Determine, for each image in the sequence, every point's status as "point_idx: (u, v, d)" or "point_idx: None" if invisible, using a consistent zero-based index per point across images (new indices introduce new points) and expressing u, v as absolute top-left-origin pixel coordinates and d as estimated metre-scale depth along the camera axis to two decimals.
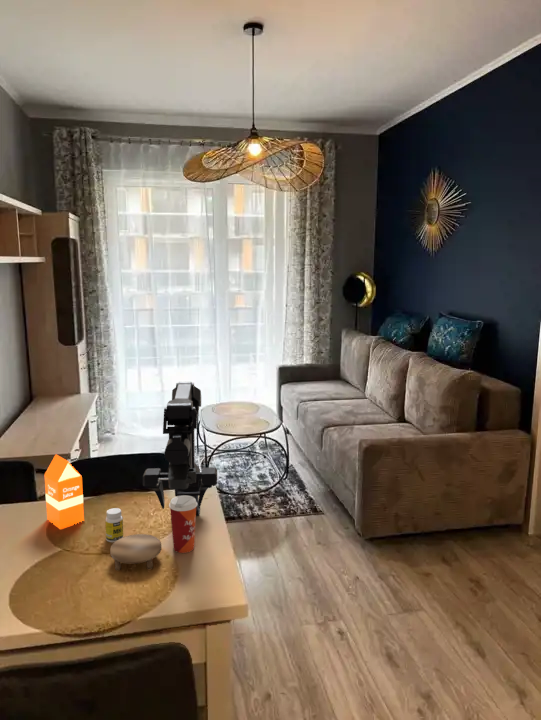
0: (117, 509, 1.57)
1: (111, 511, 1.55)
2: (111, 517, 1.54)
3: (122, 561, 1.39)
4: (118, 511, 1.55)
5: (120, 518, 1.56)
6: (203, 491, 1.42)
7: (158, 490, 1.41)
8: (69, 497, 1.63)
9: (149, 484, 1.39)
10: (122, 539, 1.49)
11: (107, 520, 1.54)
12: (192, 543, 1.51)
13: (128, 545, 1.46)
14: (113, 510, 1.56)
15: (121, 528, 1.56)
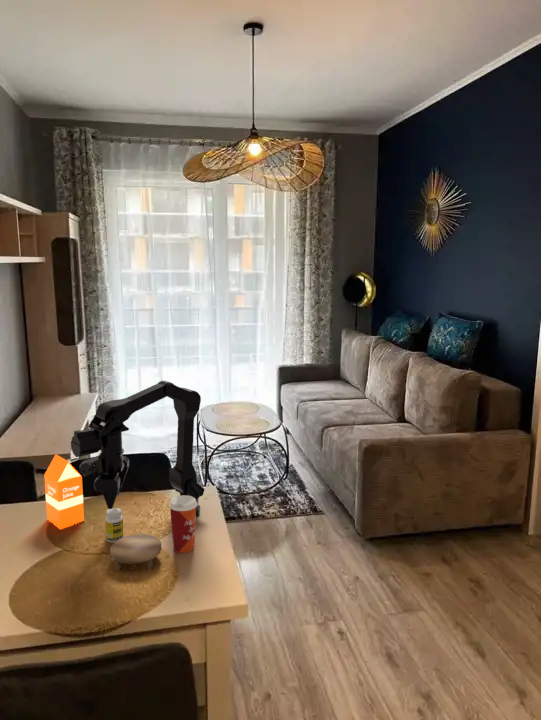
0: (117, 509, 1.57)
1: (111, 511, 1.55)
2: (111, 517, 1.54)
3: (122, 561, 1.39)
4: (118, 511, 1.55)
5: (120, 518, 1.56)
6: None
7: None
8: (69, 497, 1.63)
9: None
10: (122, 539, 1.49)
11: (107, 520, 1.54)
12: (192, 543, 1.51)
13: (128, 545, 1.46)
14: (113, 510, 1.56)
15: (121, 528, 1.56)
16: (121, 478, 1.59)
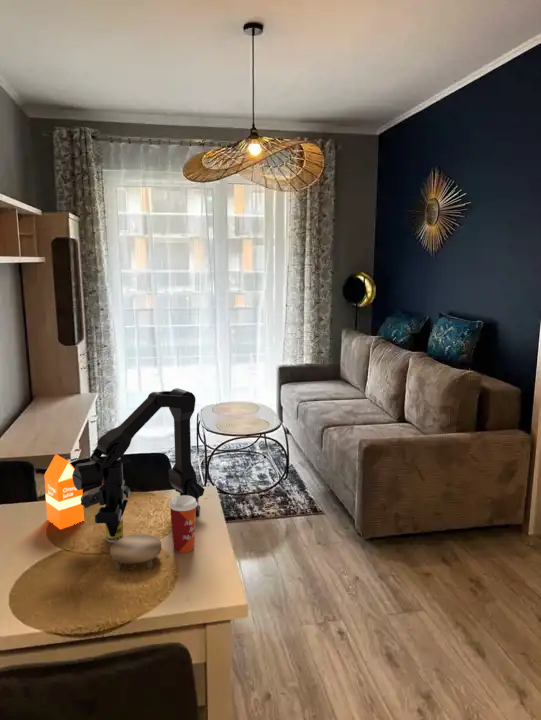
0: None
1: None
2: None
3: (122, 561, 1.39)
4: None
5: None
6: None
7: None
8: (69, 497, 1.63)
9: None
10: (122, 539, 1.49)
11: None
12: (192, 543, 1.51)
13: (128, 545, 1.46)
14: None
15: (121, 528, 1.56)
16: (121, 511, 1.59)
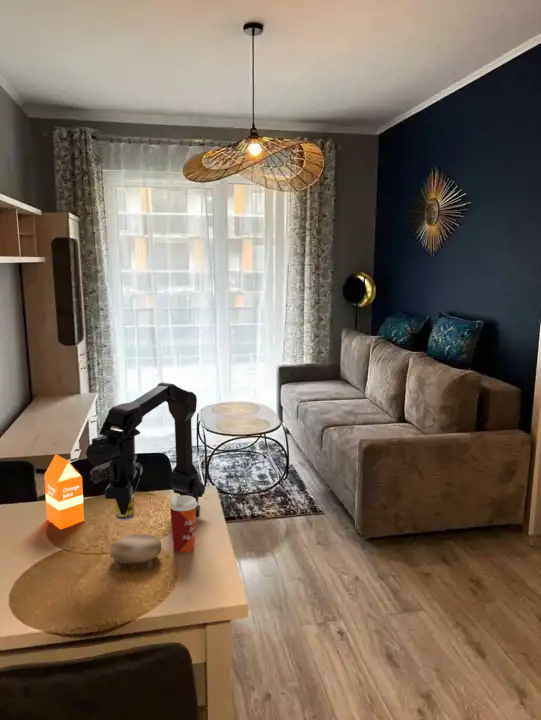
0: None
1: None
2: None
3: (122, 561, 1.39)
4: None
5: None
6: None
7: None
8: (69, 497, 1.63)
9: None
10: (122, 539, 1.49)
11: None
12: (192, 543, 1.51)
13: (128, 545, 1.46)
14: None
15: (132, 506, 1.47)
16: (132, 488, 1.50)
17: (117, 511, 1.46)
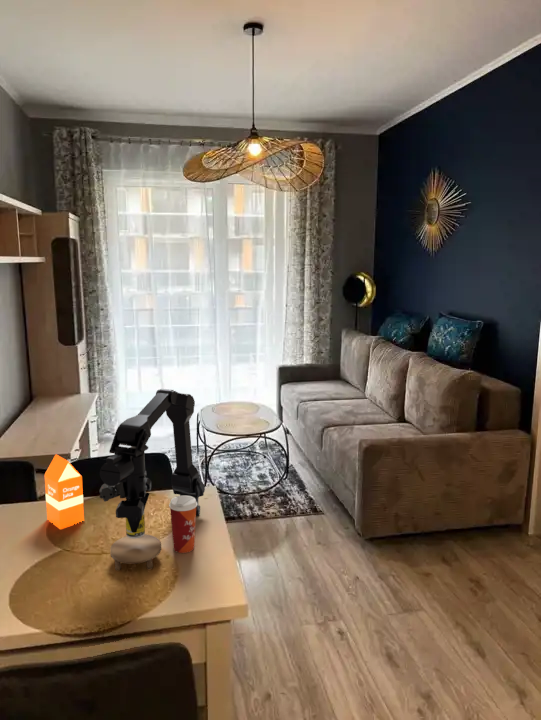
0: None
1: None
2: None
3: (122, 561, 1.39)
4: None
5: None
6: None
7: None
8: (69, 497, 1.63)
9: None
10: (122, 539, 1.49)
11: None
12: (192, 543, 1.51)
13: (128, 545, 1.46)
14: None
15: (143, 523, 1.44)
16: None
17: (127, 529, 1.43)
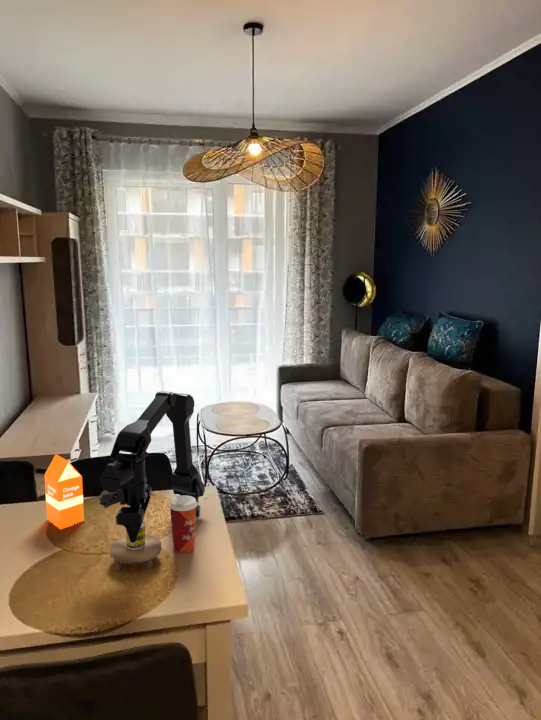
0: None
1: None
2: None
3: (122, 561, 1.39)
4: None
5: (142, 524, 1.44)
6: None
7: None
8: (69, 497, 1.63)
9: None
10: (122, 539, 1.49)
11: None
12: (192, 543, 1.51)
13: None
14: None
15: (143, 535, 1.44)
16: (143, 508, 1.49)
17: (128, 540, 1.43)
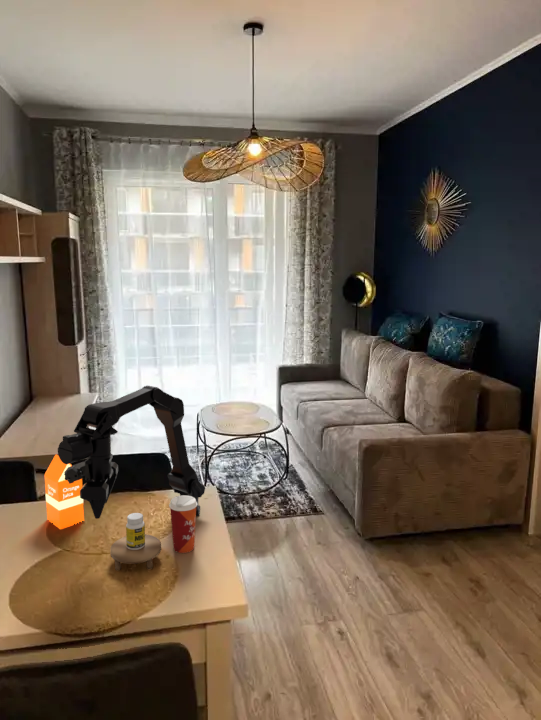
0: (138, 514, 1.45)
1: (132, 516, 1.44)
2: (133, 523, 1.42)
3: (122, 561, 1.39)
4: (140, 516, 1.44)
5: (142, 524, 1.44)
6: None
7: None
8: (69, 497, 1.63)
9: None
10: (122, 539, 1.49)
11: (128, 526, 1.43)
12: (192, 543, 1.51)
13: None
14: (135, 515, 1.44)
15: (143, 535, 1.44)
16: (109, 485, 1.49)
17: (128, 540, 1.43)
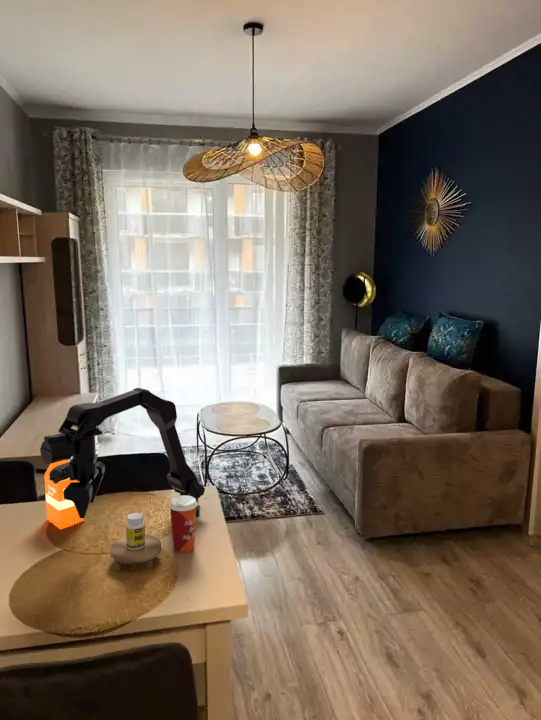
0: (139, 514, 1.45)
1: (132, 516, 1.44)
2: (133, 522, 1.42)
3: (122, 561, 1.39)
4: (140, 516, 1.44)
5: (142, 524, 1.44)
6: None
7: None
8: None
9: None
10: (122, 539, 1.49)
11: (128, 526, 1.43)
12: (192, 543, 1.51)
13: None
14: (135, 515, 1.44)
15: (143, 534, 1.44)
16: (95, 485, 1.50)
17: (128, 540, 1.43)
